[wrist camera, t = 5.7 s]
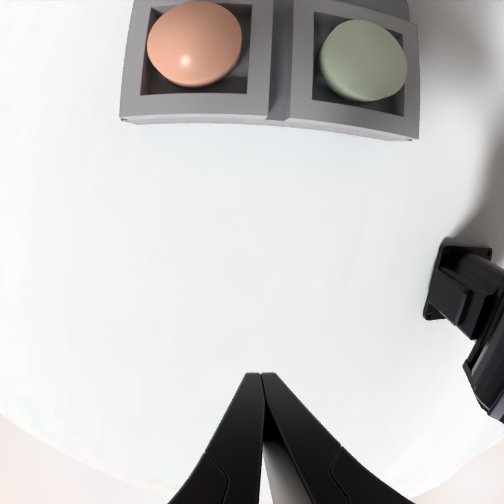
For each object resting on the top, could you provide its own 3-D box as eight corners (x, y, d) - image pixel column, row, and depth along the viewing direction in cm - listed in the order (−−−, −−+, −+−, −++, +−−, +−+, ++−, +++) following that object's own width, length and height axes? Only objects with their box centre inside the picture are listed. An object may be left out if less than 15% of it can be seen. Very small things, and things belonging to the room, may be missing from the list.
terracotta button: (243, 16, 12) (244, 1, 10) (238, 89, 13) (238, 80, 11) (161, 18, 12) (152, 4, 10) (152, 90, 13) (142, 82, 11)
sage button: (389, 41, 12) (405, 32, 11) (390, 109, 14) (407, 106, 12) (317, 24, 12) (326, 11, 10) (316, 96, 13) (326, 89, 12)
